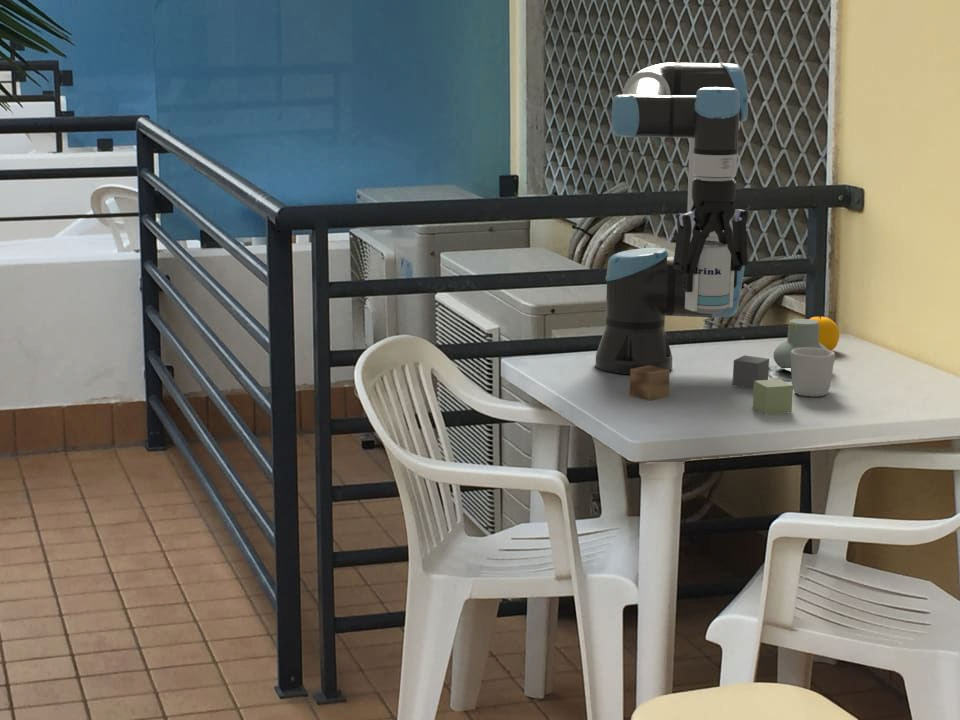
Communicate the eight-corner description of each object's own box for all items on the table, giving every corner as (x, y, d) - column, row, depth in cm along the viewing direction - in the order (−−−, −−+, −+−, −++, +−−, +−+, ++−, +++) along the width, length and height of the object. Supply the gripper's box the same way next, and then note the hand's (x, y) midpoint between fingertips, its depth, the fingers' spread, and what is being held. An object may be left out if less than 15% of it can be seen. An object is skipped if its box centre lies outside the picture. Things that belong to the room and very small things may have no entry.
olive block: (752, 408, 261) (753, 380, 260) (777, 406, 263) (779, 379, 261) (765, 415, 257) (767, 387, 255) (791, 413, 258) (793, 385, 257)
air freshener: (787, 377, 284) (790, 327, 281) (765, 368, 291) (768, 319, 289) (836, 374, 287) (839, 323, 285) (814, 364, 295) (817, 316, 293)
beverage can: (685, 313, 259) (687, 245, 256) (694, 305, 265) (696, 240, 262) (724, 316, 256) (727, 248, 253) (732, 308, 263) (735, 242, 260)
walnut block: (629, 395, 269) (630, 369, 268) (648, 391, 273) (649, 365, 271) (650, 400, 266) (651, 374, 265) (668, 396, 269) (669, 369, 268)
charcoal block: (732, 386, 277) (733, 360, 276) (743, 380, 281) (744, 355, 280) (757, 389, 274) (758, 363, 273) (767, 384, 279) (769, 358, 277)
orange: (817, 357, 302) (819, 321, 300) (791, 349, 308) (793, 314, 307) (846, 353, 306) (848, 317, 304) (819, 345, 312) (822, 311, 311)
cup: (807, 384, 279) (810, 342, 277) (846, 390, 274) (849, 348, 272) (780, 394, 271) (782, 352, 269) (820, 401, 266) (822, 358, 264)
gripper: (678, 183, 247) (673, 316, 253) (774, 177, 256) (767, 306, 262) (654, 178, 254) (649, 308, 259) (747, 173, 263) (741, 299, 268)
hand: (708, 307), depth 261 cm, fingers closed on beverage can, 7 cm apart
